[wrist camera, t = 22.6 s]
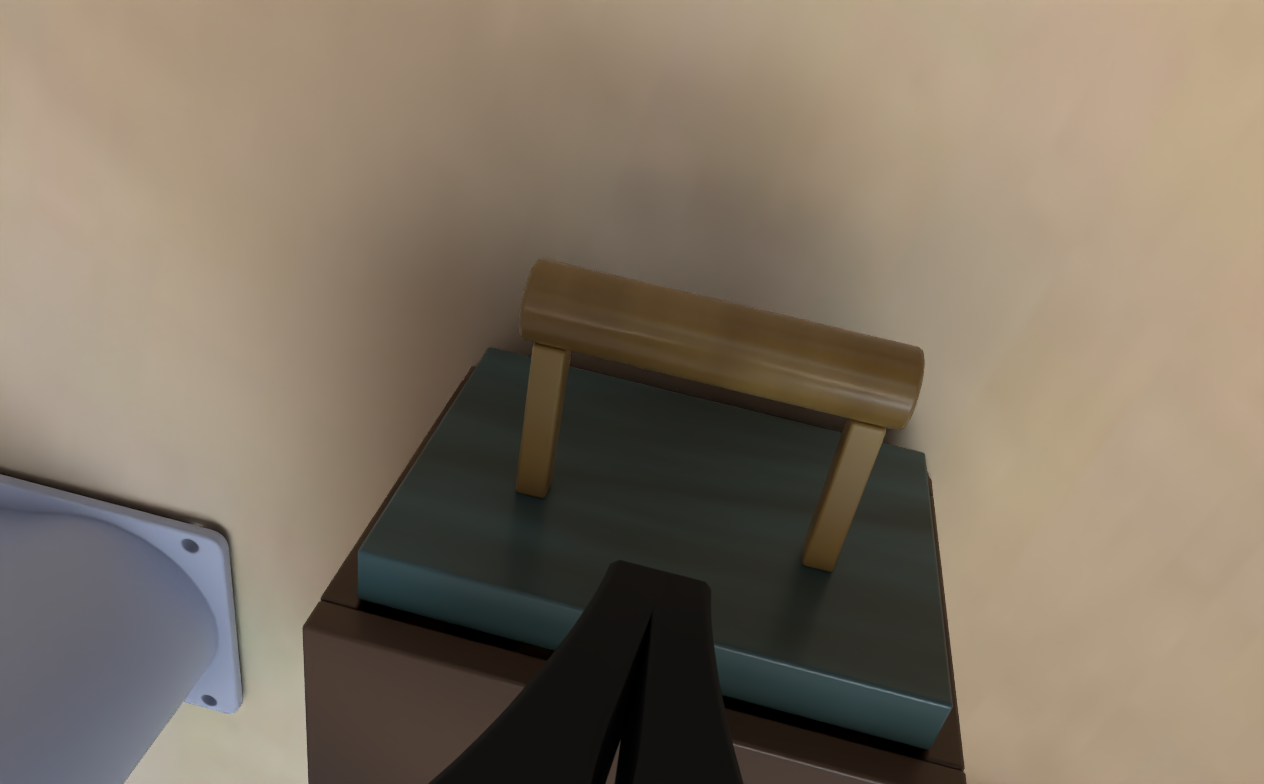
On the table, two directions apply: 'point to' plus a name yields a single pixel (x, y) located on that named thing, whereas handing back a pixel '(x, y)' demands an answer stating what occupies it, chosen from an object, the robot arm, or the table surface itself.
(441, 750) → the cabinet
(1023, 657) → the table surface
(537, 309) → the drawer
